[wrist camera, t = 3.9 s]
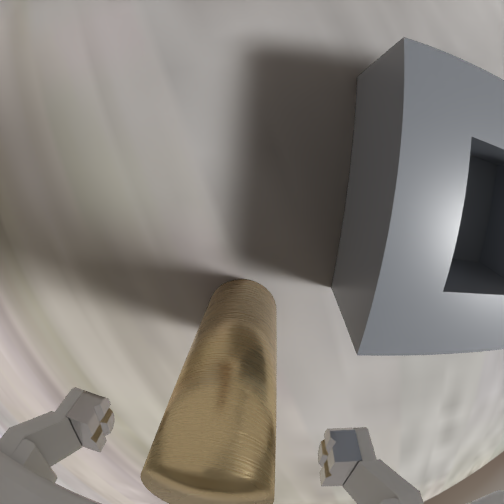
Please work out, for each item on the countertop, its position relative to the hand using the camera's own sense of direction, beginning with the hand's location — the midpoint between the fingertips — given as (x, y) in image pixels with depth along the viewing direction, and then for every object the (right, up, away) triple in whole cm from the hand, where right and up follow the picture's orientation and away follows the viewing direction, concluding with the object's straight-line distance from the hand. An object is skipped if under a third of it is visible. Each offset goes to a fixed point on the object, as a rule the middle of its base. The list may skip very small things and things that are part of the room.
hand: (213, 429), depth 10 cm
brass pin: (+1, +3, +9) cm, 9 cm away
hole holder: (+12, +9, +6) cm, 17 cm away
